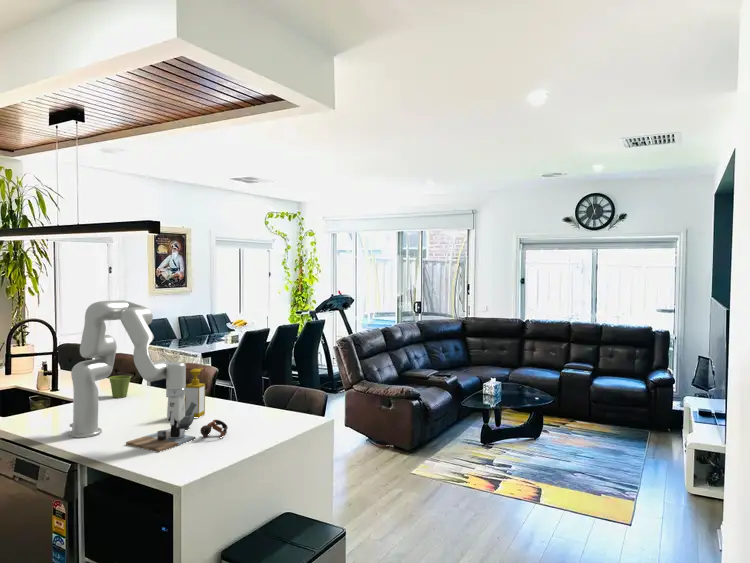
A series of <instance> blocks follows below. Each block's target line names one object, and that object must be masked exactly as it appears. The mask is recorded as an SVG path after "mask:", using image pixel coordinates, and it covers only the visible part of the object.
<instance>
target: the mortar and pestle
mask: <svg viewBox="0 0 750 563" xmlns="http://www.w3.org/2000/svg"><path fill="white" fill-rule="evenodd" d="M196 405H197V404H196V403H195V402H191V405H190V406H189V408H188V410H187V411H186V412H185V417H184V418H183V419H182V420H181V421H180V426H178V427H180V429H185V430H188V429H190V428H191V427H190V426H191V425H192V424H193V422H194V419H195V418H194V413H192V412H193V410H194V408H195V406H196ZM190 430H191V429H190ZM188 431H189V430H188Z"/></svg>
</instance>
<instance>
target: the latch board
mask: <svg viewBox="0 0 750 563" xmlns="http://www.w3.org/2000/svg"><path fill="white" fill-rule="evenodd" d="M194 439H196V436H192V435H188V434H185V437H181V438H170V439H163V440H158V439H157V432H155V433H154V432H153V433H151V434H148V435H145V436H141V437H138V438H134V439H131V440H129V441H126V442H125V445H126V446H129V447H133V448H137V447H138V449H142V448H143V449H144V450H146V449H148V451H151V450H152V452H155V451H157V452H156V453H161V452H160V451H162V452H164V451H163V450H165V451H167V450H166V449H168V450H170V449H172V447H173V448H176V447H179V446H182V445H184V444H183V443H185V444H187V443H186V442H188V443H190V442H189V441H191V440H193V441H195V440H194ZM191 442H192V441H191ZM181 444H182V445H181ZM178 445H179V446H178ZM175 446H176V447H175ZM169 448H170V449H169ZM143 449H142V450H143Z"/></svg>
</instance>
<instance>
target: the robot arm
mask: <svg viewBox="0 0 750 563" xmlns="http://www.w3.org/2000/svg"><path fill="white" fill-rule="evenodd" d="M153 319H154V316H153V312H152V311H151V310H150V309H149V308H148V307H146V306H144V305H141V304H137V303H135V302H131V301H128V300H120V299H119V300H101V301H96V302H93V303H91V304H89V306H88V307H87V309H86V310H85V314H84V326H83V329H82V330H83V331H82V335H81V341H80V346H79V355H80V356H81V357H82V358H84V359H86V360H83V361H79V362H78V363H76V364H75V365H74V366H73V367H72V368H71V373H70V374H71V375H70V376H71V377H70V378H71V381H72V388H73V390H72V391H73V404H72V406H73V409H72V411H73V412H72V413H73V414H72V418H73V419H72V423H70V424H69V427H70V428H72V429H71V430H69V432H68V436H69V437H70V438H77V439H79V438H88V437H94V436H97V435H100V434H101V433H102V432H103V431H102V430H103V428H100V427H99V388H98V386H97V383H96V382H97V381H101V380H105V379H107V378H109V376H111V374H112V372H113V369H114V364H115V360H116V354H117V350H118V349H117V348H118V347H117V343H116V342H117V341H116V340H115V338H114V337H113V336H111V335H110V334H106V332H107V327H106V323H105V321H106V322H107V321H117V320H118V321H119V320H120V322H121V324H122V326H123V328H124V330H125V331H126V333H127V335H128V337H129V339H130V341H131V342H132V344H133V347H134V348H133V352H132V353H133V363H134V365H135V368H136V369H137V371H138V373H139V375H140V376H141V378H142V379H143V380H144V381H146V382H150V383H151V382H152V383H153V382H155V381H160V380H166V382H165V385H166V386H165V388H166V389H165V397H166V398H167V406H166V408H167V409H166V416H167V417H166V420H167V422H170V424H169V426H170V430H171V437H179V436H180V427H178V426H180V421H181V420H182V419H183V418H184V417H185V394H186V385H187V384H186V383H187V382H186V381H187V380H186V378H187V370H186V369H187V364H186V363H185V362H182V361H171V360H170V361H169V360H165V359H164V360H160V361H154V362H153V361H152V358H151V356H150V355H149V349H148V348H149V347H150V344H151V343H152V342H153V340H154V338H155V336H154V334H153V332H152V330H151V328H150V327H149V325H151V324H152V322H153ZM87 359H88V360H87Z"/></svg>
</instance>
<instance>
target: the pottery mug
mask: <svg viewBox="0 0 750 563" xmlns="http://www.w3.org/2000/svg"><path fill="white" fill-rule="evenodd" d="M212 429H213V430H215V431H216V432H218V433H220V435H219V437H222V436H224V437H225V436H226V435H227V433H228V429H229V428H228V425H227V424H226V422H224V421H222V420H220V419H213V420H212V421H210V422H209V423H207V425H203V426H202V427H201V428H200V432H199V433H200V434H201V435H202V438H203V437H204V438H208V437H209V435H210V434H211V432H212ZM209 433H210V434H209ZM208 434H209V435H208Z"/></svg>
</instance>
